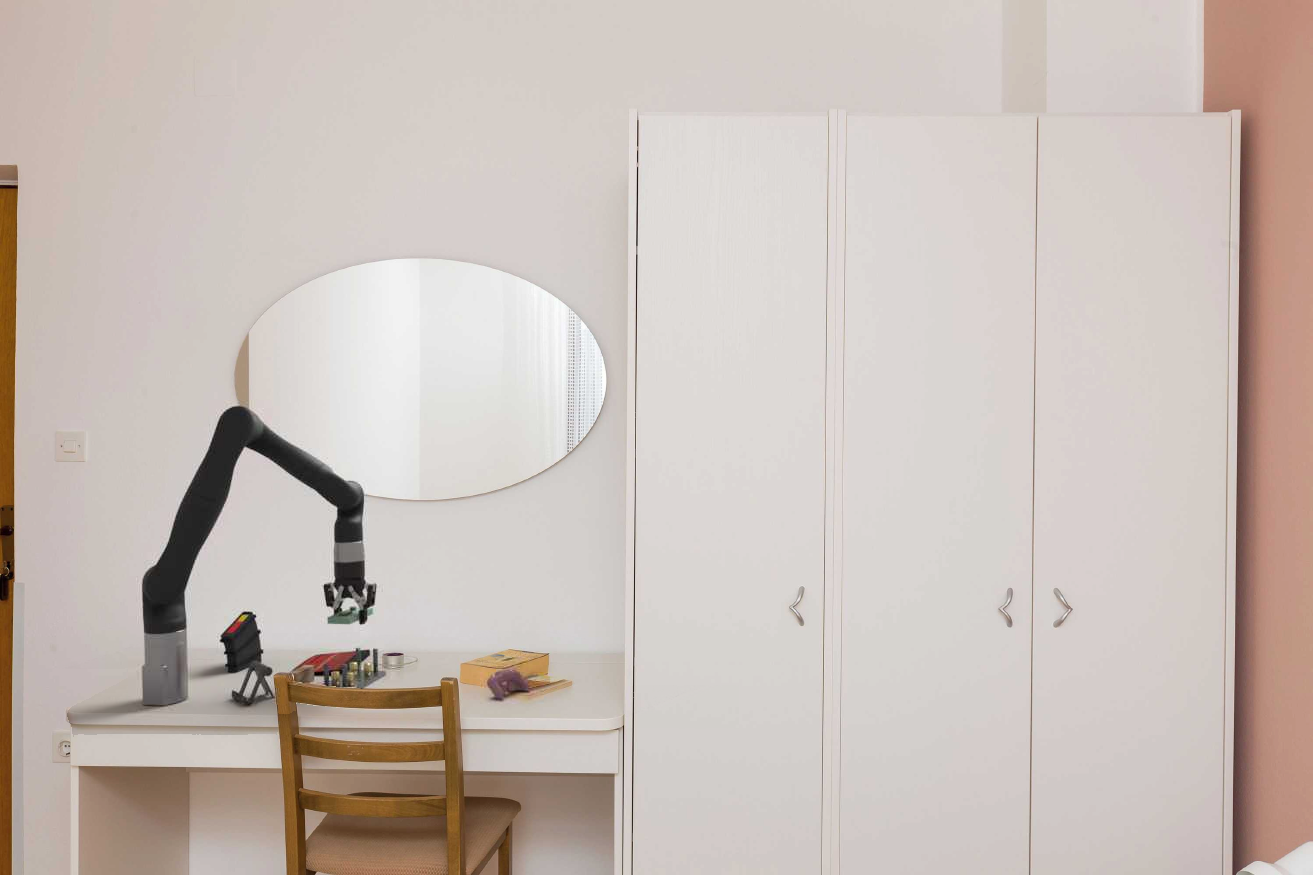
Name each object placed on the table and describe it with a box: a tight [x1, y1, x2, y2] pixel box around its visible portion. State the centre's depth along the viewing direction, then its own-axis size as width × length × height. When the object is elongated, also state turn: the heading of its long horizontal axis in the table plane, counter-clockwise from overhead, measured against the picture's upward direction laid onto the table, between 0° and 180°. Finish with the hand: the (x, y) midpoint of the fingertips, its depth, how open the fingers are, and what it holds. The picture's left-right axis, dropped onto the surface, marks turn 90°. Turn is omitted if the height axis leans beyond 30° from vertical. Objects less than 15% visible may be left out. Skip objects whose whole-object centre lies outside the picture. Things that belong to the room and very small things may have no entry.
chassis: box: [322, 647, 387, 689], centre depth 237 cm, size 17×10×7 cm, turn 169°
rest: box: [288, 665, 315, 684], centre depth 237 cm, size 8×2×4 cm, turn 169°
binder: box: [291, 649, 371, 677], centre depth 255 cm, size 16×2×21 cm
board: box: [327, 605, 374, 625], centre depth 237 cm, size 12×6×2 cm, turn 169°
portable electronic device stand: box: [231, 661, 275, 707], centre depth 225 cm, size 9×8×8 cm
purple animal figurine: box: [486, 668, 530, 701], centre depth 227 cm, size 10×5×7 cm, turn 141°
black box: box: [219, 610, 264, 673], centre depth 254 cm, size 4×13×15 cm, turn 168°
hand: (350, 623), depth 237 cm, fingers closed on board, 6 cm apart
